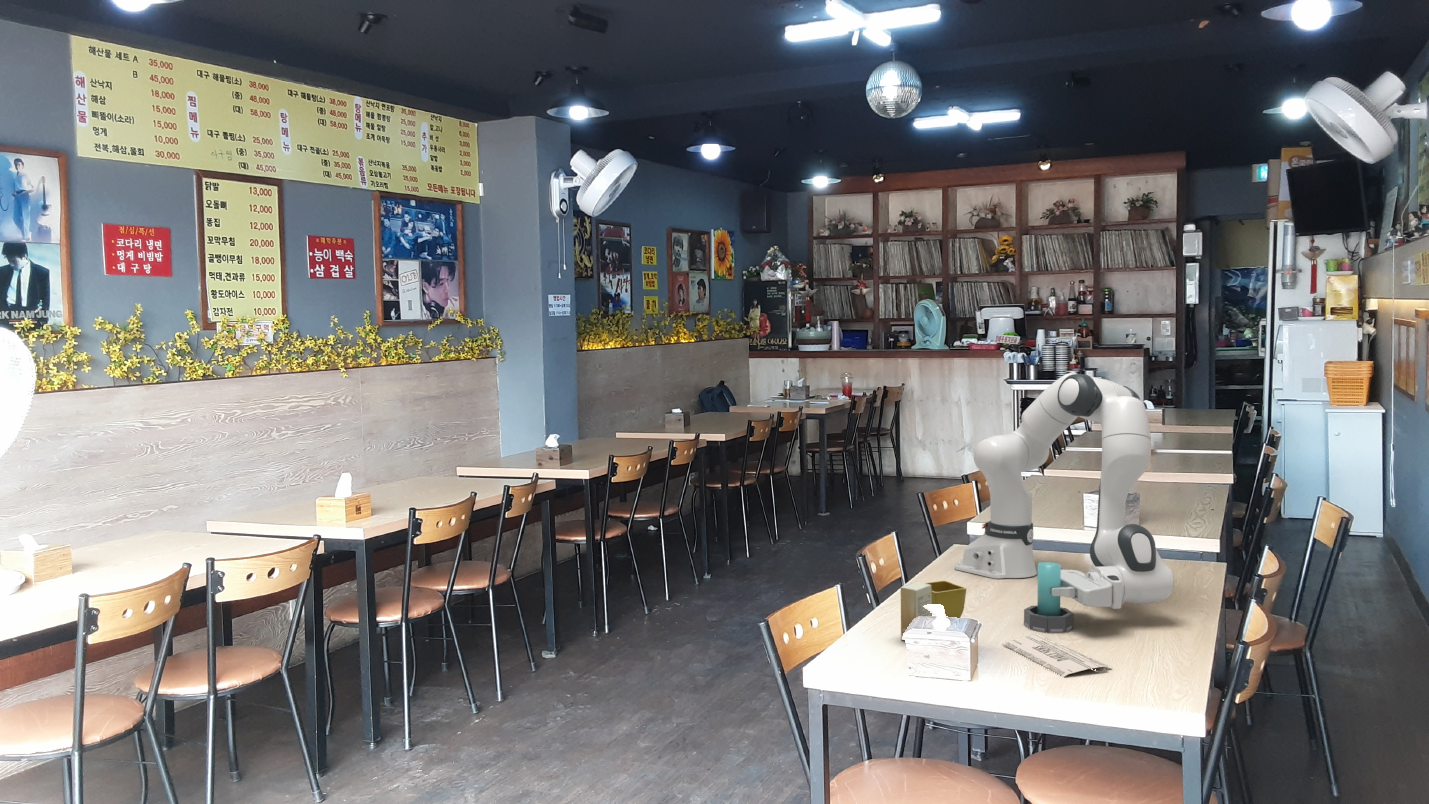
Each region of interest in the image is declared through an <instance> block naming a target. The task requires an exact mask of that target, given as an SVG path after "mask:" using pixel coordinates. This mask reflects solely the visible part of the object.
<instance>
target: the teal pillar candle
mask: <svg viewBox="0 0 1429 804" xmlns="http://www.w3.org/2000/svg"><path fill="white" fill-rule="evenodd" d="M1061 568H1062V565H1061V563H1058V562H1053V561H1041V562H1038V563H1037V605H1036V606H1037V614H1038V615H1043V616H1060V607H1061V596H1053V595H1051V594H1050V588H1051V587H1059V588H1061V570H1062V569H1061Z"/></svg>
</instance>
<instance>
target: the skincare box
mask: <svg viewBox="0 0 1429 804" xmlns="http://www.w3.org/2000/svg"><path fill="white" fill-rule="evenodd" d="M924 583H925V582H919V581H918V582H917V581H914V582H911V583H908V584H905V585H902V586H900V639H901V638H902V636H903V633H904V632H905V630H906V629H907V627H908V626H909V624H910V623H911V622H912V620H913V619H914V618H916V617H918V616H932V613H930V611H928V610H927V609H925V608H924V607H923V606H924V605H927V604H932V595H931V585H929V584H924Z"/></svg>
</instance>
